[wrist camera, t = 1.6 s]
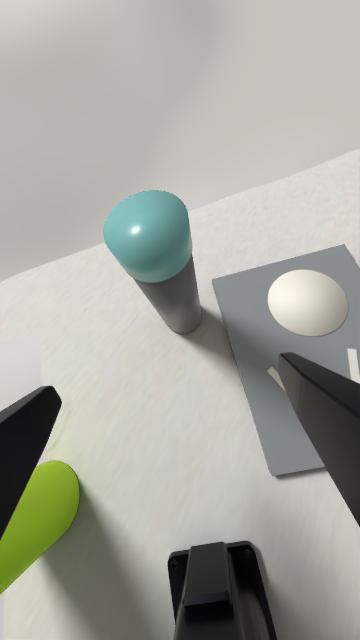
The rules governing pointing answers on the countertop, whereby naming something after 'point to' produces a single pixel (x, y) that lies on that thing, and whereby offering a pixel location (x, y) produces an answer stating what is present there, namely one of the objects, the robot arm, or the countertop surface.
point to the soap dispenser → (38, 518)
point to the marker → (157, 254)
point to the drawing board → (291, 339)
